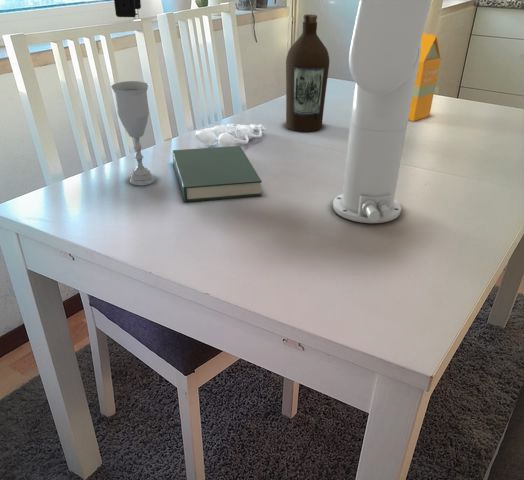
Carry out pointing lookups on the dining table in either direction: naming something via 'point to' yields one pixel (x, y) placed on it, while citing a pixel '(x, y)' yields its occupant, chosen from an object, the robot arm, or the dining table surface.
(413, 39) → the robot arm
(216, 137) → the tangled rod sculpture
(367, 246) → the dining table surface
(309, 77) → the olive oil
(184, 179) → the book
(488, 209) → the dining table surface
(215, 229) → the dining table surface
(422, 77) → the orange juice
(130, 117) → the chalice
